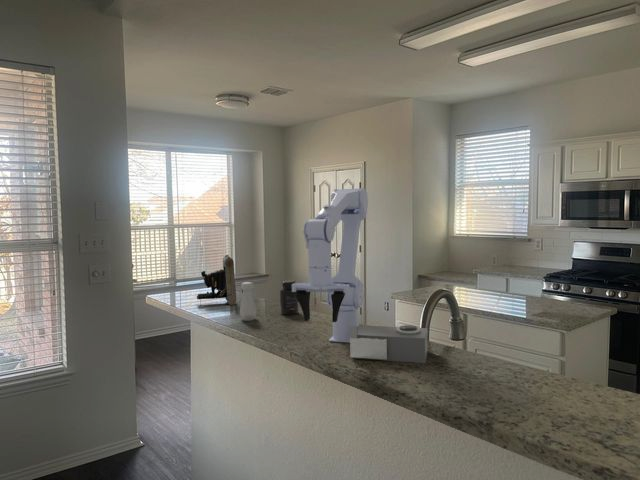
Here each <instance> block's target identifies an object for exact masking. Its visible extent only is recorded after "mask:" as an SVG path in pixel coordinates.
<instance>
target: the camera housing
mask: <svg viewBox="0 0 640 480" xmlns="http://www.w3.org/2000/svg"><path fill="white" fill-rule="evenodd" d="M358 338H376V339H387V360H386V359H371V358H356V357H351V359H358V360H372V361H373V360H374V361H386V362H403V363H416V364H426V362H427V355H428V350H429V349H428V328H427V327H418V326H417V325H410V324H409V325H408V324H407V325H400V326H386V325H385V326H384V325H363V324H362V325H361V324H359V326H358Z"/></svg>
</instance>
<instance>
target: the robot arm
mask: <svg viewBox="0 0 640 480" xmlns="http://www.w3.org/2000/svg"><path fill="white" fill-rule="evenodd" d="M330 201H331V202H330V204H325V205H324V206H323V207H322V209H320V211H319V212H318V213H317V215H315V217H314V218H312V219H311V218H310V219H308V220H307V221H306V222H305V223H304V225H303V231H302V232H303V238H304V240H305V248H306V249H307V254H308V255H307V257H308V261H307V262H308V263H307V264H308V265H307V266H308V282H302V283H301V282H295V283H294V284H292V292H296V291H297V294H295V296H296V298H297V300H298V302H299V307H300V308H301V310H302V314H303V319H304V321H305V322H308V321H309V320H310V319H311V312H310V311H311V310H310V300H311V292H312V293H325V301H326V304H327V306H329V308H330V310H332V317H331V318H332V336H331V337H330V338H329V340H328V342H331V343H333V342H334V343H349V344H350V337H351V328H350V326H351V325H358V326H359V325H360V313H359V310H358V309H360V308H361V307H362V305H363V303H364V284H363V282H362V280H361V279H360V278H359V277H357V276H356V274H355V273H356V267H357V265H356V264H357V258H358V257H357V255H358V249H359V248H358V247H359V246H358V245H359V237H360V228H361V222H362V221H363V220H366V218H367V213H368V203H369V199H368V192H367V190H366V189H365V188H364V187H361V188H341V189H338V188H335V189H333V191H332V192H331V195H330ZM341 221H342V222H343V229H342V236H341V237H342V238H341V247H340V255H339V263H338V271H337V272H338V273H336V274H335V275H334V276H333V277H332V242H333V241H334V239H335V238H334V237H335V232H336V230H337V229H336V227H337V226H338V224H339V223H340V222H341Z"/></svg>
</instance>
